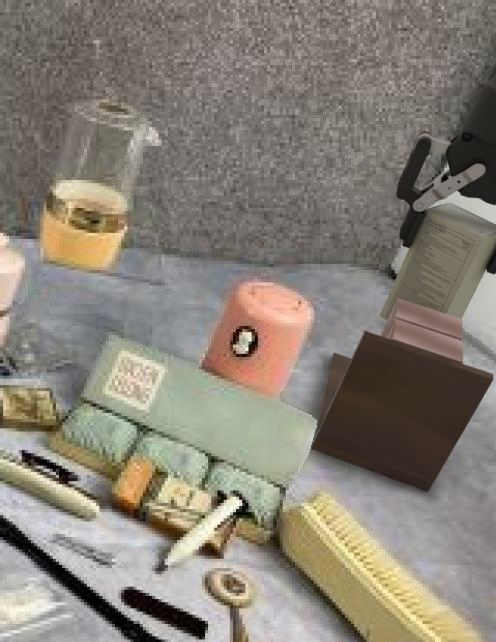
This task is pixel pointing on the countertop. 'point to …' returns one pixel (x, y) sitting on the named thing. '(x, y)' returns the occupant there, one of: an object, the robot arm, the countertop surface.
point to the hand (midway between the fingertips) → (447, 257)
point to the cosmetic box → (444, 261)
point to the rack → (401, 397)
